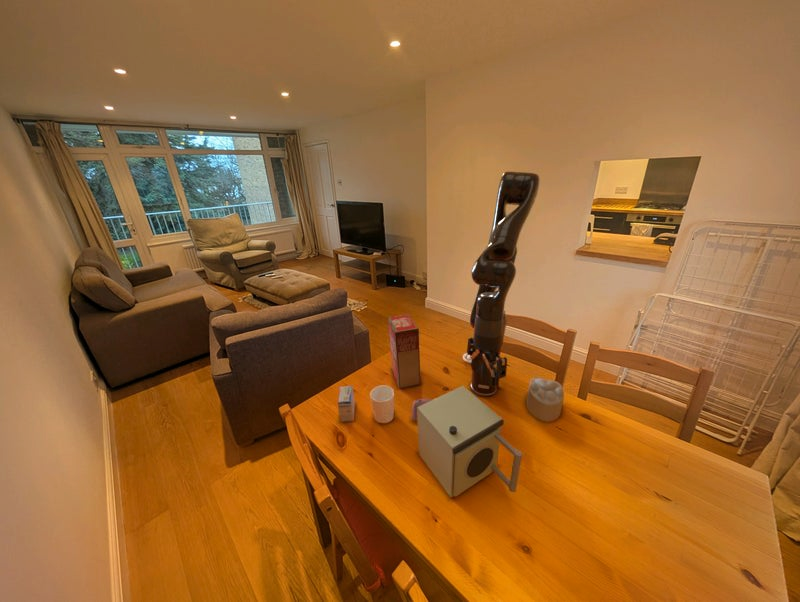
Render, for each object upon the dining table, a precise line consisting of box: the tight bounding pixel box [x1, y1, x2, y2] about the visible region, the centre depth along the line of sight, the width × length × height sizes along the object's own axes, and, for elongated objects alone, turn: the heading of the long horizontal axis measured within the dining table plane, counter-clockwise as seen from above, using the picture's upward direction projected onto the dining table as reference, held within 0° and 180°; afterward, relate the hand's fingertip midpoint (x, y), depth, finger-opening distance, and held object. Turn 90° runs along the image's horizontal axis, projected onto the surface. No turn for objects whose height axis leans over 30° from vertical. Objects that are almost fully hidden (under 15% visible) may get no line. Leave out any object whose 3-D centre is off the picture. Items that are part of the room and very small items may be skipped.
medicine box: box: [337, 385, 356, 423], centre depth 100 cm, size 8×4×9 cm, turn 5°
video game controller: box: [411, 398, 433, 423], centre depth 98 cm, size 10×5×7 cm, turn 84°
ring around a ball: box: [462, 352, 472, 365], centre depth 125 cm, size 8×6×8 cm
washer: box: [416, 385, 505, 499], centre depth 80 cm, size 16×16×19 cm
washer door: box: [453, 428, 523, 497], centre depth 70 cm, size 14×8×14 cm, turn 120°
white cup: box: [369, 384, 395, 424], centre depth 98 cm, size 8×8×10 cm
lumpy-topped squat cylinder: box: [526, 377, 565, 423], centre depth 98 cm, size 10×13×9 cm
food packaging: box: [387, 313, 422, 390], centre depth 114 cm, size 13×9×25 cm
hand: (483, 377), depth 87 cm, fingers open, 8 cm apart
